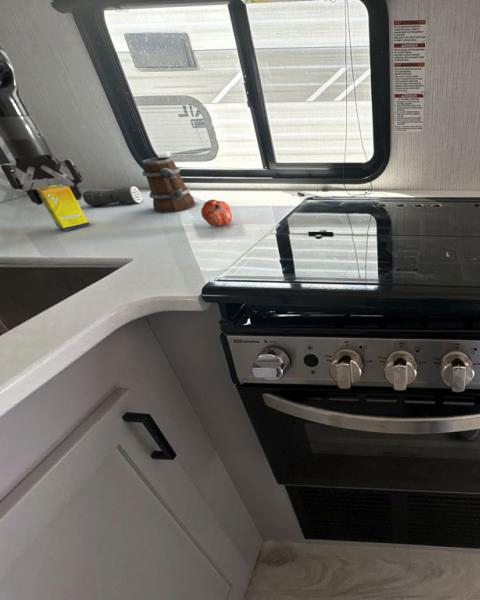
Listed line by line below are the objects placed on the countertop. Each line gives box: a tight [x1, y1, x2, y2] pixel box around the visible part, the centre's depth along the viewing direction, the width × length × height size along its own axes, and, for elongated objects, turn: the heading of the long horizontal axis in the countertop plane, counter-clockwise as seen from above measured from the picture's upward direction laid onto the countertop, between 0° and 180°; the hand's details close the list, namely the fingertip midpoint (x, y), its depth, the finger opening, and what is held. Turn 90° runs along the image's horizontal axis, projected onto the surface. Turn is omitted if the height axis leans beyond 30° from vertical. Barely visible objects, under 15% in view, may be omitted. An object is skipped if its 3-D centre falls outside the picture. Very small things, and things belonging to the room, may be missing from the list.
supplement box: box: [34, 183, 90, 232], centre depth 92 cm, size 6×6×11 cm
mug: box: [141, 156, 196, 213], centre depth 105 cm, size 16×12×15 cm
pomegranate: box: [200, 199, 233, 227], centre depth 92 cm, size 7×7×10 cm
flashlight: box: [82, 186, 143, 207], centre depth 113 cm, size 15×5×5 cm, turn 102°
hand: (59, 201), depth 91 cm, fingers open, 8 cm apart
